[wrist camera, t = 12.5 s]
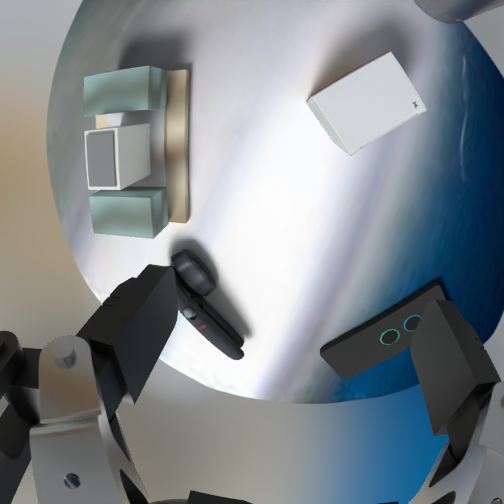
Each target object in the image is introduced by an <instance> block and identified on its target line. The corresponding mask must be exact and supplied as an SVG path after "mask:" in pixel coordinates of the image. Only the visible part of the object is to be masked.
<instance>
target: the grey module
mask: <svg viewBox="0 0 504 504" xmlns="http://www.w3.org/2000/svg"><path fill="white" fill-rule="evenodd" d="M85 151H86V167H87V179H88V189H89V190H122V189H123V188H125V187H127V186H129V185H131V184H133V183H135V182H137V181H139V180H141V179H143V178H145V177H147V176H149V175H151V165H150V123H143V124H128V125H118V126H111V127H105V128H99V129H94V130H89V131H85Z"/></svg>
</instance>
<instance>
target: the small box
mask: <svg viewBox="0 0 504 504" xmlns="http://www.w3.org/2000/svg"><path fill="white" fill-rule="evenodd" d="M306 103H307V105H308V106H309V108H310V109H311V111H312V112H313V113H314V115H315V116H316V118H317V119H318V121H319V122H320V123H321V125H322V126H323V128H324V129H325V131H326V132H327V134H328V135H329V137H330V138H331V139H332V141H333V142H334V143H335V144H336V145H337V146H339V147H340V148H341V149H342V150H343V151H345V152H346V153H347V154H348V155H350V156H352V155H353V154H355V153H356V152H358V151H359V150H361V149H362V148H363V147H365V146H367V145H368V144H370V143H371V142H373V141H375V140H376V139H378V138H380V137H381V136H383V135H385V134H386V133H388V132H389V131H391V130H393V129H394V128H396V127H398V126H400V125H401V124H403V123H405V122H406V121H408V120H410V119H412V118H414V117H416V116H418V115H420V114H422V113H424V112H426V111H427V109H426V107H425V105H424V103H423V101H422V100H421V98H420V96H419V94H418V93H417V91H416V89H415V88H414V86H413V84H412V83H411V81H410V79H409V78H408V76H407V75H406V73H405V71H404V70H403V68H402V67H401V65H400V64H399V62H398V61H397V59H396V58H395V56H394V55H393V54H392V52H391V51H389V52H387V53H385V54H383V55H381V56H379V57H377V58H375V59H373V60H371V61H369V62H367V63H365V64H363V65H362V66H360V67H358V68H356V69H354V70H352V71H351V72H349V73H347V74H345V75H344V76H342V77H340V78H339V79H337V80H335V81H334V82H332V83H331V84H329V85H327V86H326V87H324V88H323V89H321V90H320V91H318V92H317V93H315V94H314V95H312V96H311V97H310V98H309V99H308V100H307V101H306Z"/></svg>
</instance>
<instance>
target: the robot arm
mask: <svg viewBox="0 0 504 504" xmlns="http://www.w3.org/2000/svg"><path fill="white" fill-rule="evenodd" d="M414 2H415V3H416V4H417V5H418V6H419V7H420V8H421V9H422V10H423V11H425V12H426V13H427V14H429V15H430V16H432V17H433V18H435V19H437V20H440V21H442V22H446V23H452V24H455V23H460V22H462V21H464V20H467V19H469V18H472V17H474V16H477V15H480V14H482V13H484V12H487V11H490V10H492V9H495V8H498V7H501V6H503V5H504V0H414ZM177 315H178V305H177V294H176V282H175V272H174V269H173V268H171V267H165V266H158V265H152V264H149V265H147V266H146V268H145V269H144V270H143V271H142V272H141V273H140V275H139V276H138V277H137V278H133V277H132V278H130V279H128V280H126V281H125V282H123V283H121V284H120V285H118V286H117V287H116V289H115V290H114V291H113V292H112V293H111V294H110V297H108V298H107V299H106V300H105V301H104V302H103V305H102V306H100V307H99V308H98V309H97V311H96V312H95V313H94V314H93V315H92V316H91V318H90V319H89V320H88V321H87V323H86V324H85V325H84V326H83V327H82V328H81V330H80V331H79V332H78V333H77V335H76V336H72V335H70V336H69V335H67V336H61V337H58V338H56V339H54V340H52V341H50V342H49V343H48V344H47V345H46V346H45V347H44V348H43V349H33V348H22V347H21V345H20V343H19V341H18V339H17V337H16V336H15V335H14V334H13V333H12V332H9V331H0V399H1V398H2V396H4V397H5V399H6V400H7V402H8V403H9V405H8V406H7V408H6V409H5V411H4V412H3V414H2V416H1V417H0V504H11V502H12V500H13V497H14V495H15V493H16V491H17V488H18V486H19V484H20V482H21V480H22V477H23V475H24V473H25V471H26V469H27V467H28V465H29V463H30V460H31V459H32V467H33V474H34V480H35V486H36V491H37V497H38V502H39V504H252V503H249V502H247V501H244V500H237V499H231V498H226V497H220V496H215V495H210V494H205V493H201V492H196V491H192V490H191V491H190V494H189V498H188V499H170V500H163V501H156V502H151V499H150V497H149V495H148V493H147V490H146V488H145V486H144V484H143V482H142V480H141V478H140V476H139V474H138V472H137V470H136V468H135V465H134V462H133V460H132V457H131V454H130V451H129V448H128V445H127V442H126V439H125V436H124V433H123V429H122V426H121V422H120V419H119V415H118V412H117V408H118V406H119V404H120V402H121V401H124V402H126V403H129V404H132V405H135V403H136V401H137V399H138V397H139V395H140V393H141V391H142V389H143V387H144V385H145V383H146V381H147V379H148V377H149V375H150V373H151V371H152V369H153V367H154V366H155V364H156V362H157V360H158V358H159V356H160V354H161V352H162V350H163V348H164V346H165V344H166V342H167V340H168V339H169V337H170V335H171V333H172V331H173V329H174V327H175V324H176V321H177ZM410 350H411V356H412V359H413V362H414V366H415V369H416V372H417V375H418V379H419V382H420V385H421V389H422V392H423V396H424V399H425V403H426V407H427V411H428V414H429V418H430V422H431V426H432V431H433V435H434V436H437V435H445V434H448V436H449V440H448V441H447V442H446V443H445V444H444V446H443V448H442V450H441V452H440V454H439V456H438V458H437V460H436V462H435V464H434V466H433V468H432V470H431V472H430V474H429V476H428V477H427V479H426V481H425V483H424V484H423V486H422V488H421V490H420V491H419V493H418V494H417V495H416V496H415V497H414V498H413V499H412V500H411V501H410V502H409V503H408V504H504V382H503V381H501V379H500V377H499V375H498V373H497V371H496V369H495V367H494V365H493V363H492V361H491V359H490V357H489V355H488V353H487V351H486V350H484V346H483V344H482V342H481V341H479V337H478V335H477V333H476V332H475V330H474V328H473V327H472V326H471V325H470V324H469V323H468V322H467V321H466V320H465V319H464V318H463V317H462V316H461V314H460V312H459V311H458V309H457V307H456V306H455V304H454V303H453V302H452V301H447V300H435V299H432V300H430V301H429V302H428V303H427V305H426V308H425V310H424V312H423V315H422V317H421V319H420V321H419V324H418V326H417V328H416V330H415V332H414V335H413V337H412V340H411V347H410ZM380 504H398V502H389V503H380Z"/></svg>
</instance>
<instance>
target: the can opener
mask: <svg viewBox="0 0 504 504" xmlns="http://www.w3.org/2000/svg"><path fill="white" fill-rule="evenodd" d="M171 259H172V262H173V265H174V267H173V266H165V267H171V268H173V269H174V272H175V282H176V294H177V305H178V310H179V311H180V312H181V313H182V315H183V316H184V317H185V318H186V319H187V320H188V321H189V322H190V323H191V324H192V325H193V326H194V327H195V328H196V329H197V330H198V331H199V332H200V333H201V334H202V335H203V336H204V337H205V338H206V339H207V340H208V341H210V342H211V343H212V344H213V345H214V346H215V347H217V348H218V349H219V350H220V351H222V352H223V353H224V354H226V355H227V356H228V357H230V358H231V359H234V360H240V359H242V358H243V357H244V352H243V351H242V350H241V349H240V348H241V347H242V346H243V344H244V342H243V340H242V338H241V337H240V336H239V335H238V333H237V332H236V331H235V330H234V329H233V328H232V327H231V325H230V324H229V323H228V322H227V321H226V320H225V319H224V318H223V317H222V316H221V315H219V314H218V313H217V312H216V311H215V310H214V309H213V308H212V307H211V306H210V305H209V304H208V303H207V302H206V301H205V299H204V298H203V297H202V296H207V295H208V294H210V292H211V291H212V290H213V289H214V288H215V287H216V282H215V280H214V278H213V276H212V274H211V273H210V271H209V270H208V268H207V267H206V266H205V265H204V264H203V263H202V261H200V260H199V259H198V258H197V257H196V256H195V255H194V254H192V253H191V252H189V251H187V250H184V251H181V252H179V253H177V254H175V255H173V256H172V258H171ZM201 295H202V296H201Z"/></svg>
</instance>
